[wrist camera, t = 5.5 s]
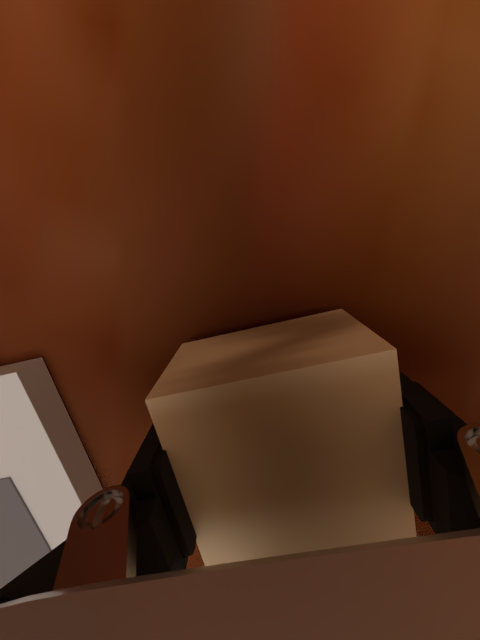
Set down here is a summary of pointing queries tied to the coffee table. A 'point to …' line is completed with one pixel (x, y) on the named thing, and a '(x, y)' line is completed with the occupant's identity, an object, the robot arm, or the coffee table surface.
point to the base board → (37, 468)
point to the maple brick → (286, 438)
